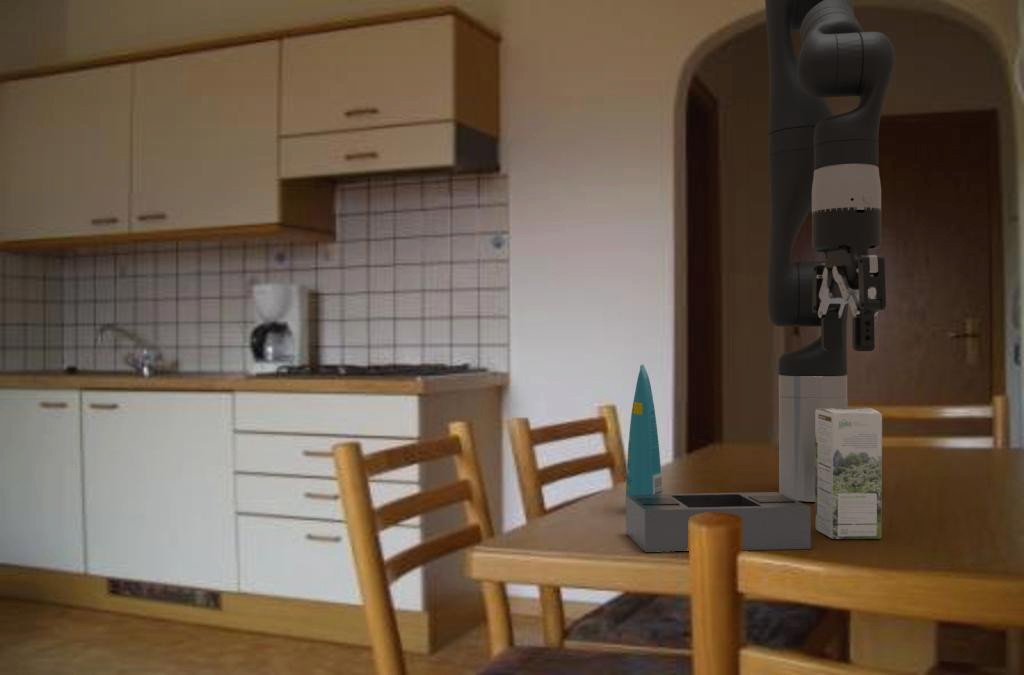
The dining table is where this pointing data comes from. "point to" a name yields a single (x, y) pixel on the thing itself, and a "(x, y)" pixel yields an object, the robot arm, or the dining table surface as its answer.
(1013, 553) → the dining table surface
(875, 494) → the syrup box
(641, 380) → the tube
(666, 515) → the grey open box
